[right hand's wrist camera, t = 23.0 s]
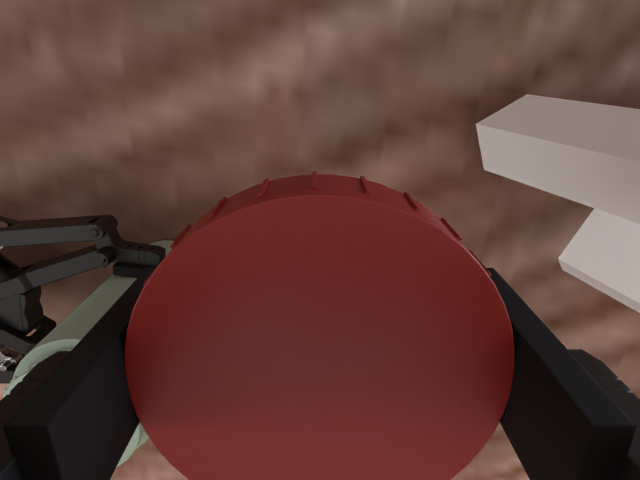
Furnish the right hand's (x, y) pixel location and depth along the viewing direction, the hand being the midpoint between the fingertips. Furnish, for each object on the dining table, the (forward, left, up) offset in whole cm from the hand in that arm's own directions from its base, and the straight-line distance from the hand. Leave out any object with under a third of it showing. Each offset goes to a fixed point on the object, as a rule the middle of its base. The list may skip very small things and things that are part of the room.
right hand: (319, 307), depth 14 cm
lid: (0, 0, +3) cm, 3 cm away
